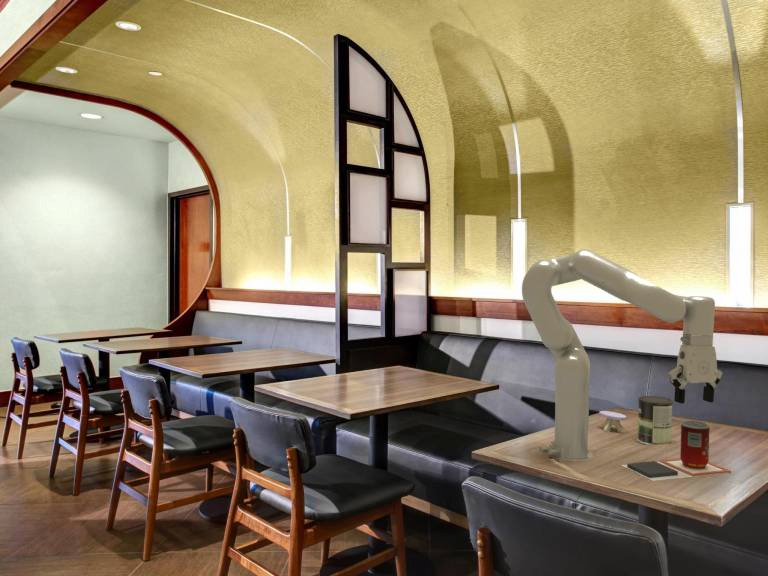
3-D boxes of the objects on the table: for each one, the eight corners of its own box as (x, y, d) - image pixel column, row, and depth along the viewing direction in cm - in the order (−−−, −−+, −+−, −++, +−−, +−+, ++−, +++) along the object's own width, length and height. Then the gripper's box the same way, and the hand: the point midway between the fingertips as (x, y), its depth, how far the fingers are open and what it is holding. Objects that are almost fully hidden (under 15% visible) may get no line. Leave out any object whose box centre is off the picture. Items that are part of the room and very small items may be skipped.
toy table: (592, 427, 218) (592, 411, 218) (612, 425, 222) (612, 409, 222) (612, 435, 209) (613, 418, 209) (633, 432, 213) (633, 416, 213)
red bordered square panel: (692, 476, 165) (692, 474, 165) (659, 461, 177) (659, 460, 177) (730, 472, 168) (730, 470, 168) (695, 458, 180) (695, 456, 180)
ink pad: (649, 478, 163) (649, 474, 163) (627, 467, 172) (627, 463, 172) (677, 475, 166) (677, 471, 166) (654, 464, 174) (654, 461, 174)
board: (652, 485, 161) (652, 480, 161) (620, 469, 174) (621, 465, 174) (727, 477, 168) (727, 473, 168) (691, 462, 180) (691, 458, 180)
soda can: (711, 471, 168) (712, 426, 168) (682, 469, 170) (683, 424, 170) (705, 463, 175) (706, 420, 175) (678, 461, 177) (678, 418, 176)
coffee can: (634, 443, 199) (635, 400, 199) (639, 436, 208) (640, 394, 208) (669, 448, 194) (671, 404, 193) (673, 440, 203) (674, 398, 202)
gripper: (681, 342, 165) (677, 406, 166) (733, 342, 170) (729, 404, 171) (661, 339, 173) (658, 399, 173) (712, 339, 177) (708, 398, 178)
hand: (693, 402), depth 172 cm, fingers open, 9 cm apart
